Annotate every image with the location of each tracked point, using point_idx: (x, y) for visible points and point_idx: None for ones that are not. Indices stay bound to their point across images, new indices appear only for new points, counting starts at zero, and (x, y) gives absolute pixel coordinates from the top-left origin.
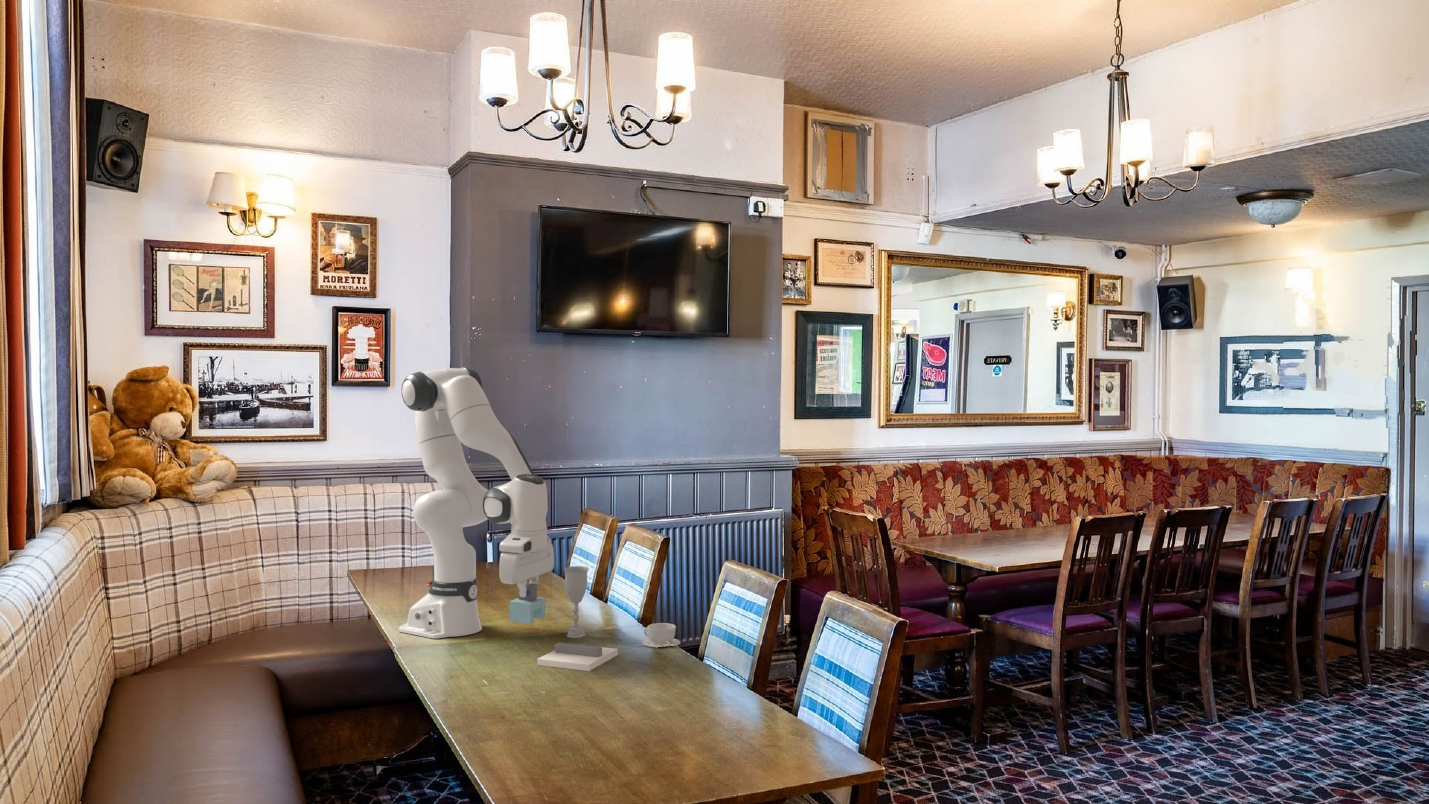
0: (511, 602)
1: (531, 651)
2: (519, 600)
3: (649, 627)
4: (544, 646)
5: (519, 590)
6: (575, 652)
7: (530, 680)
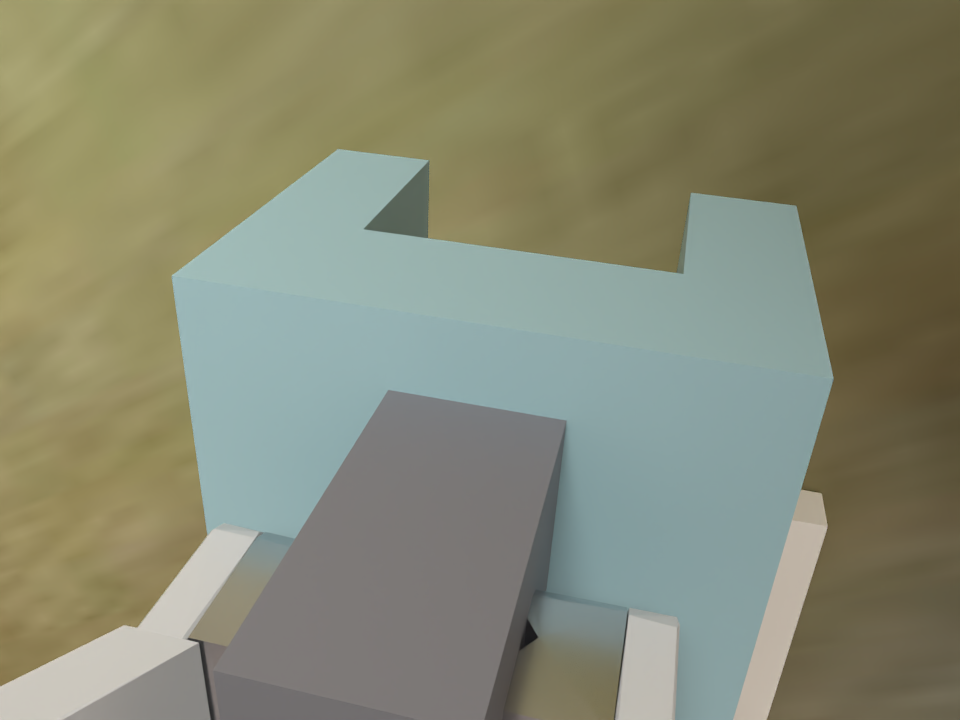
0: (187, 311)
1: (687, 202)
2: (332, 431)
3: None
4: (908, 254)
5: (154, 609)
6: None
7: (26, 470)
